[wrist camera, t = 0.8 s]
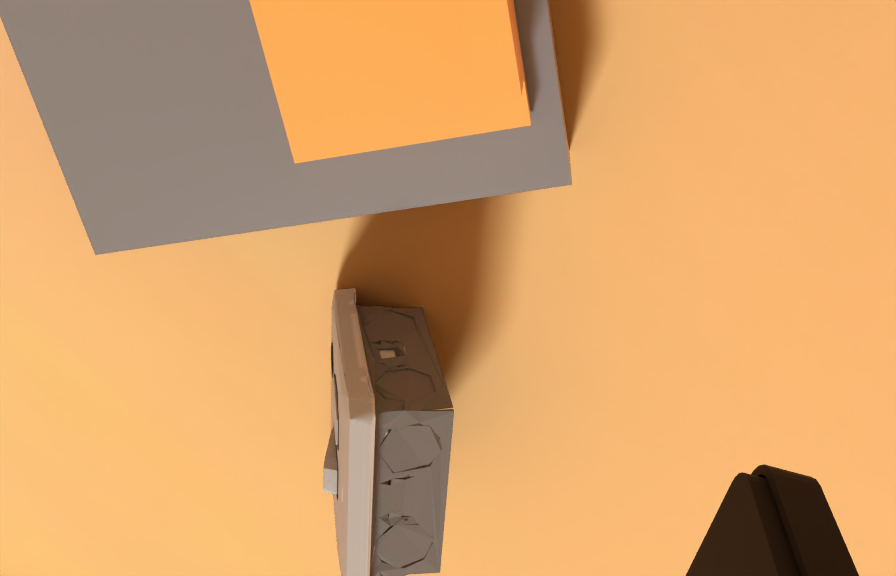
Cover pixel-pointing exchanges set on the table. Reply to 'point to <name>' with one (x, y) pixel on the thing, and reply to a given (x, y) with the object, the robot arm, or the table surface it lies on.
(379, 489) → the electrical switch
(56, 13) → the socket housing
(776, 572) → the robot arm
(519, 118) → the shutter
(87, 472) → the table surface
